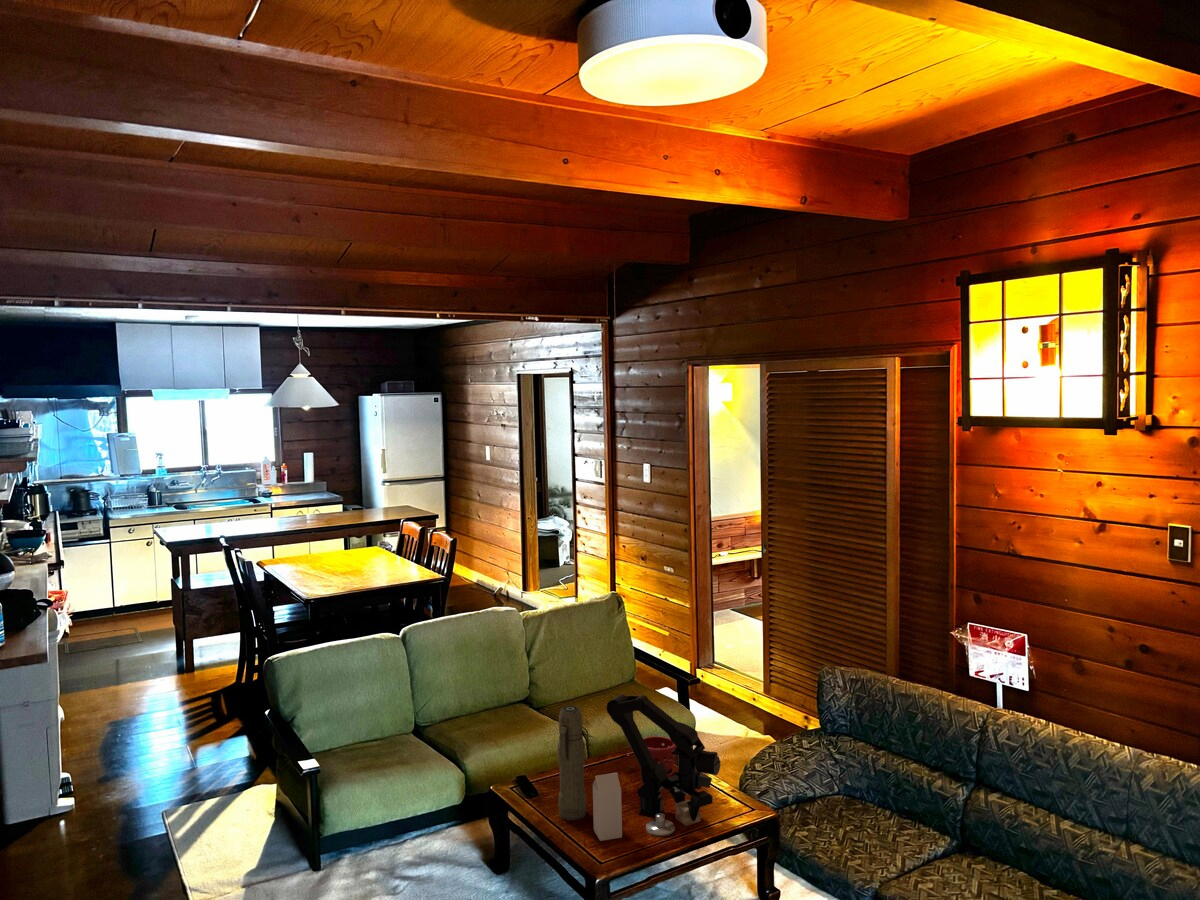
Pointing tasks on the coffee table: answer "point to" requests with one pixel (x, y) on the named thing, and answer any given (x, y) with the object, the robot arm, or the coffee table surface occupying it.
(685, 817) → the beige wooden cube
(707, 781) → the robot arm
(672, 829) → the post stand
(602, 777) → the milk carton
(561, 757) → the thermos
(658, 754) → the plant pot
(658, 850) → the coffee table surface
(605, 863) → the coffee table surface
